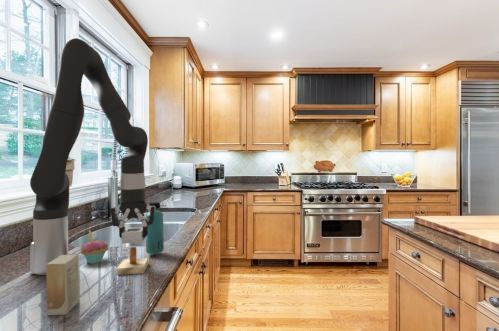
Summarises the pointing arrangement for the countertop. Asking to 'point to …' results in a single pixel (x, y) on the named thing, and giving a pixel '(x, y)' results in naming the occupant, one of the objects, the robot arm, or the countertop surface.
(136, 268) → the keeper
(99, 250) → the cupcake
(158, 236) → the beverage bottle
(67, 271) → the skincare box
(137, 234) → the link
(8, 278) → the countertop surface
